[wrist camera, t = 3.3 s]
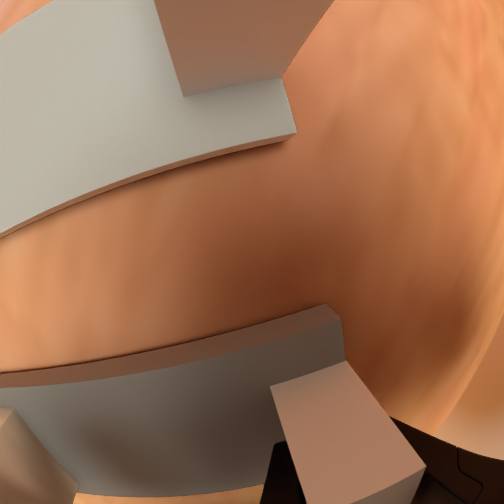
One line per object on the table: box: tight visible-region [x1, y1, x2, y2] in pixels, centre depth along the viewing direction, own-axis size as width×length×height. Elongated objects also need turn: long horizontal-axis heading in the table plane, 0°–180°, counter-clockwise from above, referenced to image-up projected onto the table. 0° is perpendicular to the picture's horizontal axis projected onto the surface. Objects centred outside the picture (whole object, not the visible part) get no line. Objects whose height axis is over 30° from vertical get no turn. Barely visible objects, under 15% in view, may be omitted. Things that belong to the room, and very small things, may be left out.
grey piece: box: [0, 303, 426, 504], centre depth 6 cm, size 7×20×6 cm, turn 104°
